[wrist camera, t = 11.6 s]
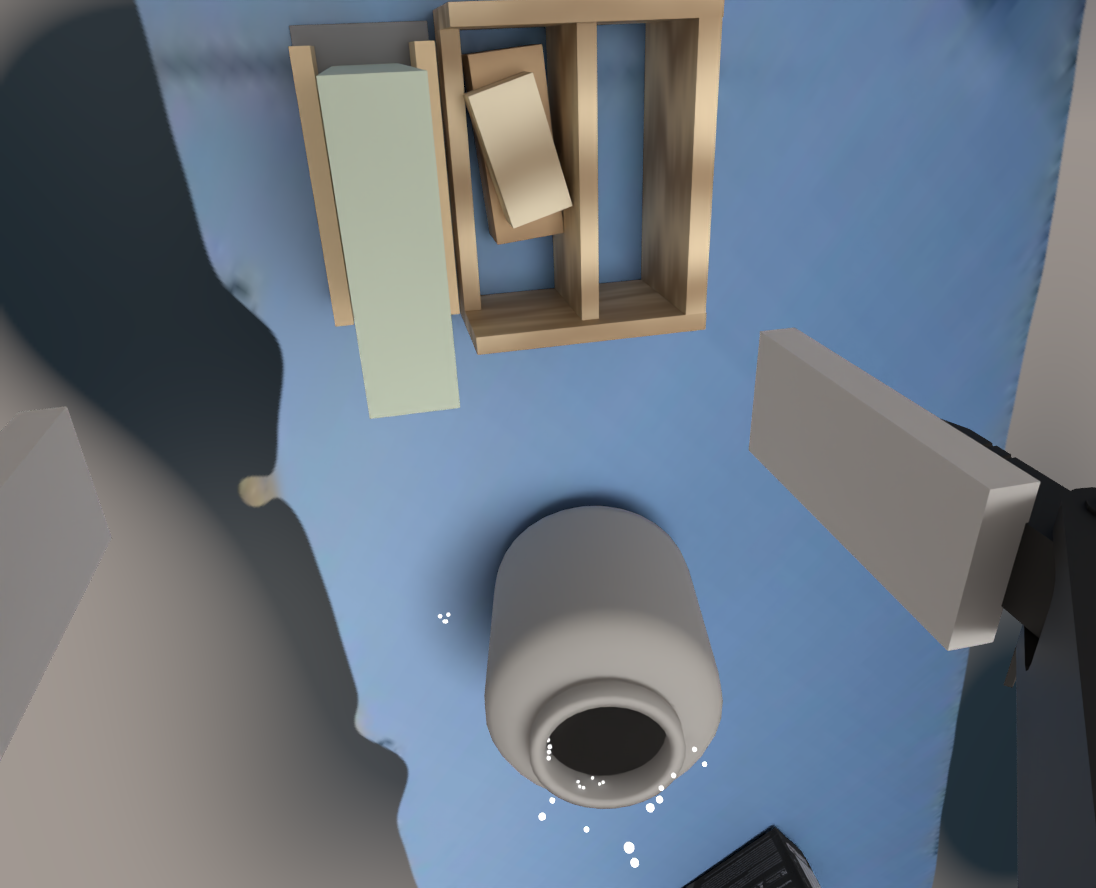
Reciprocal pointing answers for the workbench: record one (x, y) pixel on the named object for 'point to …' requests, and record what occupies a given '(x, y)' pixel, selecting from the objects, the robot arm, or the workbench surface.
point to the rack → (668, 172)
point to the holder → (308, 59)
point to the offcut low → (478, 74)
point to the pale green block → (391, 233)
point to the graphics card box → (762, 867)
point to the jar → (599, 660)
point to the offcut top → (518, 148)
